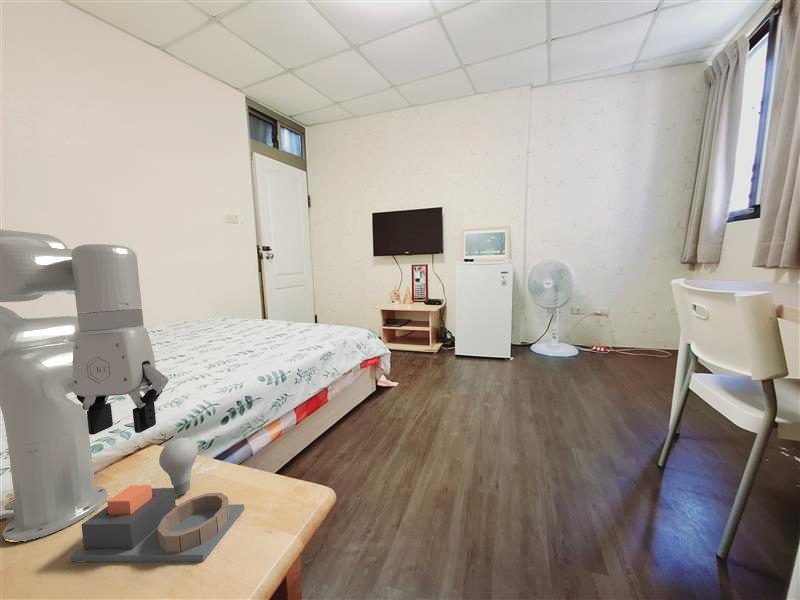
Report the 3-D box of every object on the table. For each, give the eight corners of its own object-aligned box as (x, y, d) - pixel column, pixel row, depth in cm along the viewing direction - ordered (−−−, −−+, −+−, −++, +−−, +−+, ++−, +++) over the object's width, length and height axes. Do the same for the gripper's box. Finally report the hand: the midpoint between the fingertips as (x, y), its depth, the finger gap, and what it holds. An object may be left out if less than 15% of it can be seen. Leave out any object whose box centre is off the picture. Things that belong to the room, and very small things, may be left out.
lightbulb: (181, 506, 55) (175, 448, 54) (154, 504, 56) (149, 447, 56) (208, 484, 61) (203, 432, 60) (184, 482, 62) (179, 431, 62)
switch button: (109, 525, 47) (107, 501, 47) (132, 508, 51) (130, 485, 51) (132, 525, 47) (129, 501, 47) (153, 507, 51) (151, 485, 50)
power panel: (71, 562, 44) (67, 529, 44) (135, 511, 54) (132, 485, 54) (203, 561, 43) (200, 528, 43) (244, 509, 53) (241, 482, 53)
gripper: (33, 328, 45) (46, 443, 45) (140, 321, 43) (152, 439, 44) (88, 322, 52) (99, 421, 53) (181, 316, 51) (191, 417, 51)
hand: (123, 429), depth 48 cm, fingers open, 7 cm apart
